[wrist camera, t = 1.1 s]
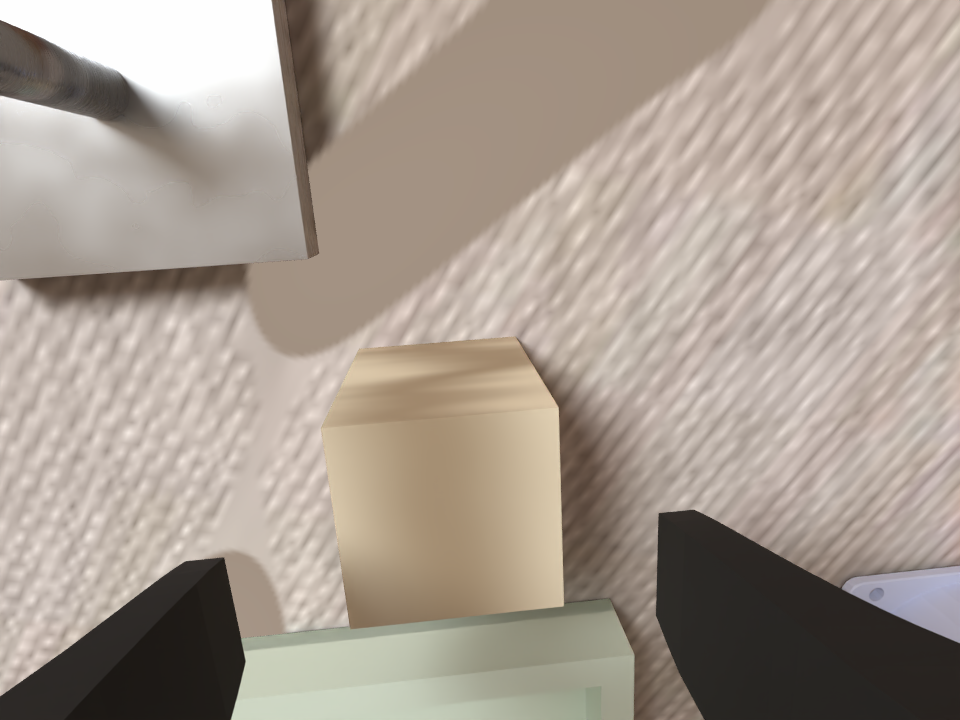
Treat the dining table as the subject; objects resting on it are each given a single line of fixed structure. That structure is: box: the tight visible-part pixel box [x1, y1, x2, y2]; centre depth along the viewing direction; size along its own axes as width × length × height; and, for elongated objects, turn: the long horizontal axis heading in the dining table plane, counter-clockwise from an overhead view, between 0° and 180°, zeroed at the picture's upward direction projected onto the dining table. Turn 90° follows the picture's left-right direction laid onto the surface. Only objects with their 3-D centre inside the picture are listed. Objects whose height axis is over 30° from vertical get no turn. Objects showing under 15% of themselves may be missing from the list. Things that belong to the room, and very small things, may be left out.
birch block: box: [321, 337, 564, 629], centre depth 15 cm, size 4×4×6 cm
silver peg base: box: [0, 0, 319, 280], centre depth 12 cm, size 8×8×6 cm
